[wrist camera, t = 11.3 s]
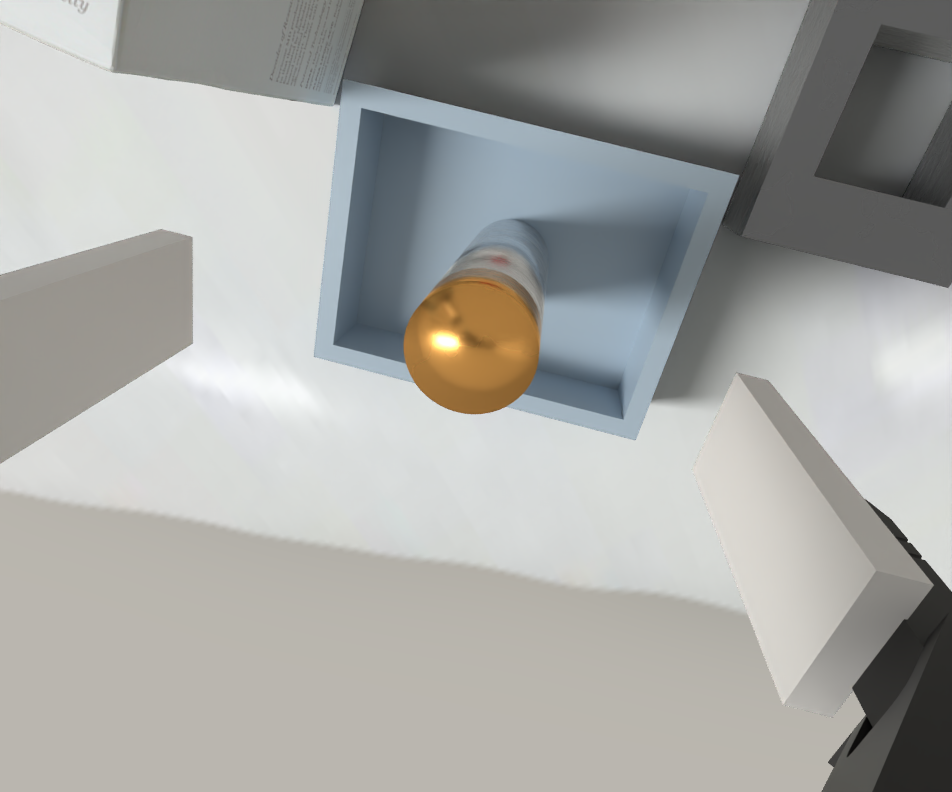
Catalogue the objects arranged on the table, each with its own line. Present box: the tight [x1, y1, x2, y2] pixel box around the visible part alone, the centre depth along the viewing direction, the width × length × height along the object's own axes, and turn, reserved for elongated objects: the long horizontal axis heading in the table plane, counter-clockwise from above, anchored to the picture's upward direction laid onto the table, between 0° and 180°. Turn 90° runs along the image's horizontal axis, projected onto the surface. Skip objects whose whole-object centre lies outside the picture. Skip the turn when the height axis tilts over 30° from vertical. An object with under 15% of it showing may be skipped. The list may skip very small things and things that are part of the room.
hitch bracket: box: [723, 0, 952, 288], centre depth 22 cm, size 8×10×3 cm
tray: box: [314, 79, 739, 440], centre depth 25 cm, size 15×11×4 cm
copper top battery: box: [403, 219, 549, 414], centre depth 21 cm, size 4×4×12 cm
